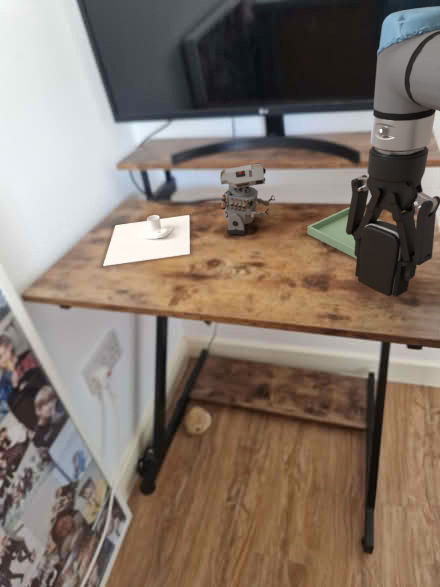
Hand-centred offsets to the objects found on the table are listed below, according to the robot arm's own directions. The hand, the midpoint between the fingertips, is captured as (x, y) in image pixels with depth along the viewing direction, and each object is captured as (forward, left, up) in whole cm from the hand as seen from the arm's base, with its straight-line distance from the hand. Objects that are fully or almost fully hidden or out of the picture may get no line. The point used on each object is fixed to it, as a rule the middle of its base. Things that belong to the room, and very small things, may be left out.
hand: (380, 282), depth 69 cm
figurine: (+38, 0, -4) cm, 39 cm away
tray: (+17, -14, -4) cm, 23 cm away
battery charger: (0, 0, -1) cm, 1 cm away
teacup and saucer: (+51, +21, -4) cm, 56 cm away
